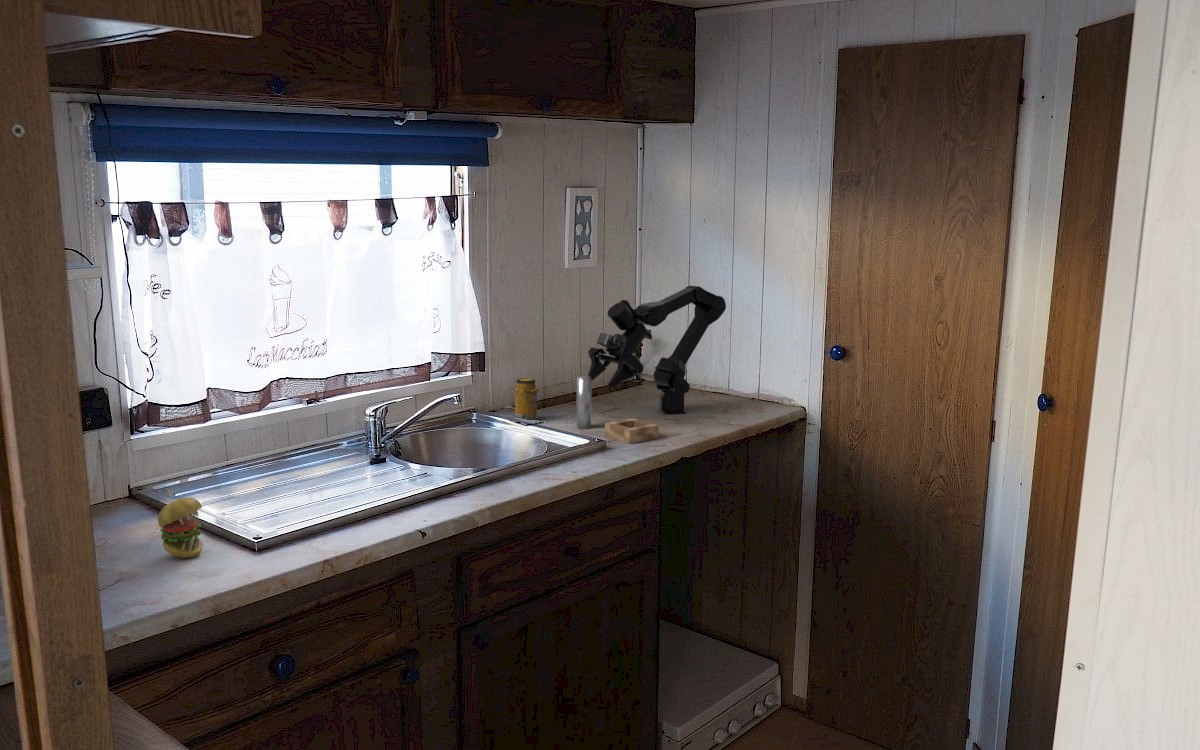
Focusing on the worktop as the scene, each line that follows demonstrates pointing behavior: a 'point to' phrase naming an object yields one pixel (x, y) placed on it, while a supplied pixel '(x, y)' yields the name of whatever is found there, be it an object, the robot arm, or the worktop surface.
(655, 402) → the worktop surface
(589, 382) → the peg
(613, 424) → the socket
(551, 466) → the worktop surface
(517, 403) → the condiment
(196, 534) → the hamburger
